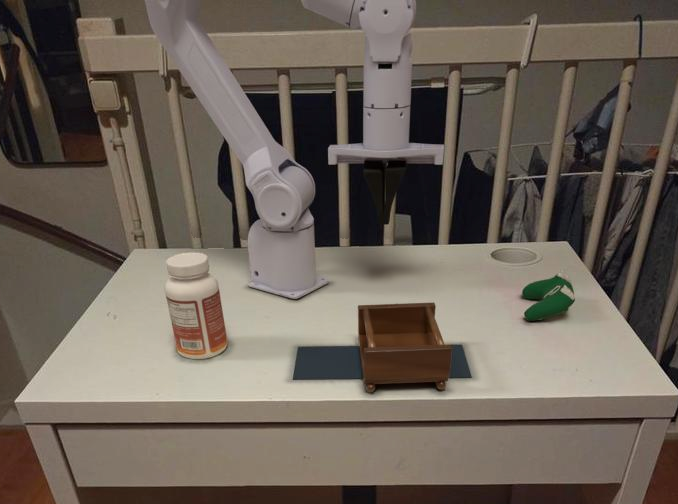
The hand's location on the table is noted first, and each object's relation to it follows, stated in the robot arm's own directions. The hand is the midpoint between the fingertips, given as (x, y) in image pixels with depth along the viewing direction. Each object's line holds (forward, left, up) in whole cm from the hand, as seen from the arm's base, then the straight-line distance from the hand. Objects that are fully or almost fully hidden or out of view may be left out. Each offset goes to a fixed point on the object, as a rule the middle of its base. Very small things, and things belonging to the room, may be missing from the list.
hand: (384, 222), depth 84 cm
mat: (+12, -18, -9) cm, 24 cm away
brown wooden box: (+15, -18, -9) cm, 25 cm away
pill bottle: (-8, -28, -10) cm, 31 cm away
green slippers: (+22, +6, -10) cm, 25 cm away
